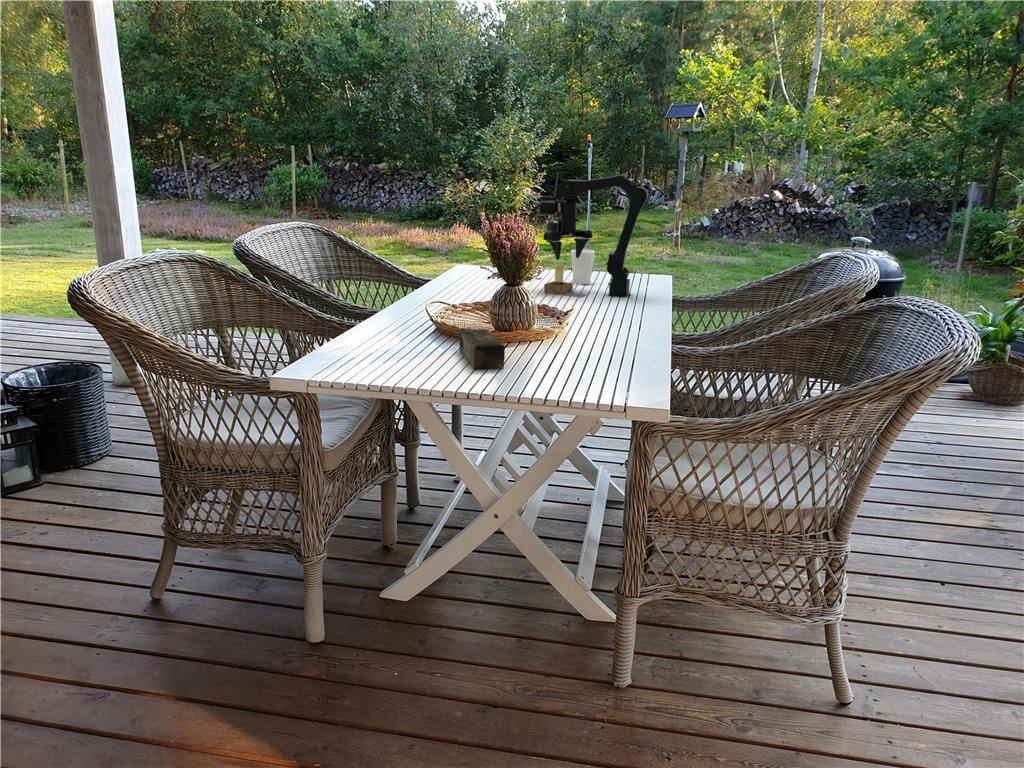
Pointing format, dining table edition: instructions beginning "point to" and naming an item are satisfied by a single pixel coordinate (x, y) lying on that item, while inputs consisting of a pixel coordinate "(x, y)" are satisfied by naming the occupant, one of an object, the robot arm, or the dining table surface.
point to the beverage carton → (481, 349)
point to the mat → (576, 295)
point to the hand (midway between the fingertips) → (567, 258)
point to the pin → (558, 275)
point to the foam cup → (582, 266)
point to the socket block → (558, 288)
